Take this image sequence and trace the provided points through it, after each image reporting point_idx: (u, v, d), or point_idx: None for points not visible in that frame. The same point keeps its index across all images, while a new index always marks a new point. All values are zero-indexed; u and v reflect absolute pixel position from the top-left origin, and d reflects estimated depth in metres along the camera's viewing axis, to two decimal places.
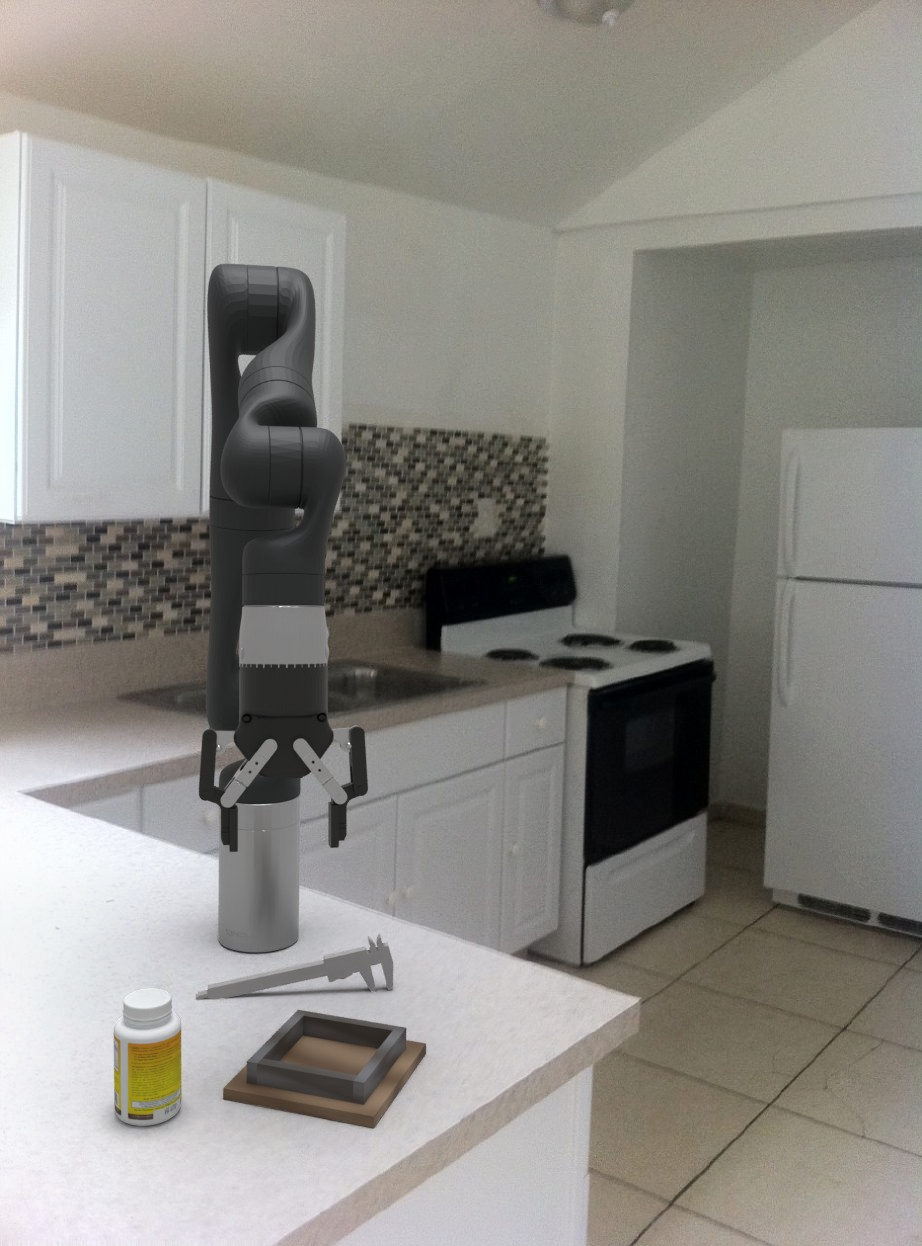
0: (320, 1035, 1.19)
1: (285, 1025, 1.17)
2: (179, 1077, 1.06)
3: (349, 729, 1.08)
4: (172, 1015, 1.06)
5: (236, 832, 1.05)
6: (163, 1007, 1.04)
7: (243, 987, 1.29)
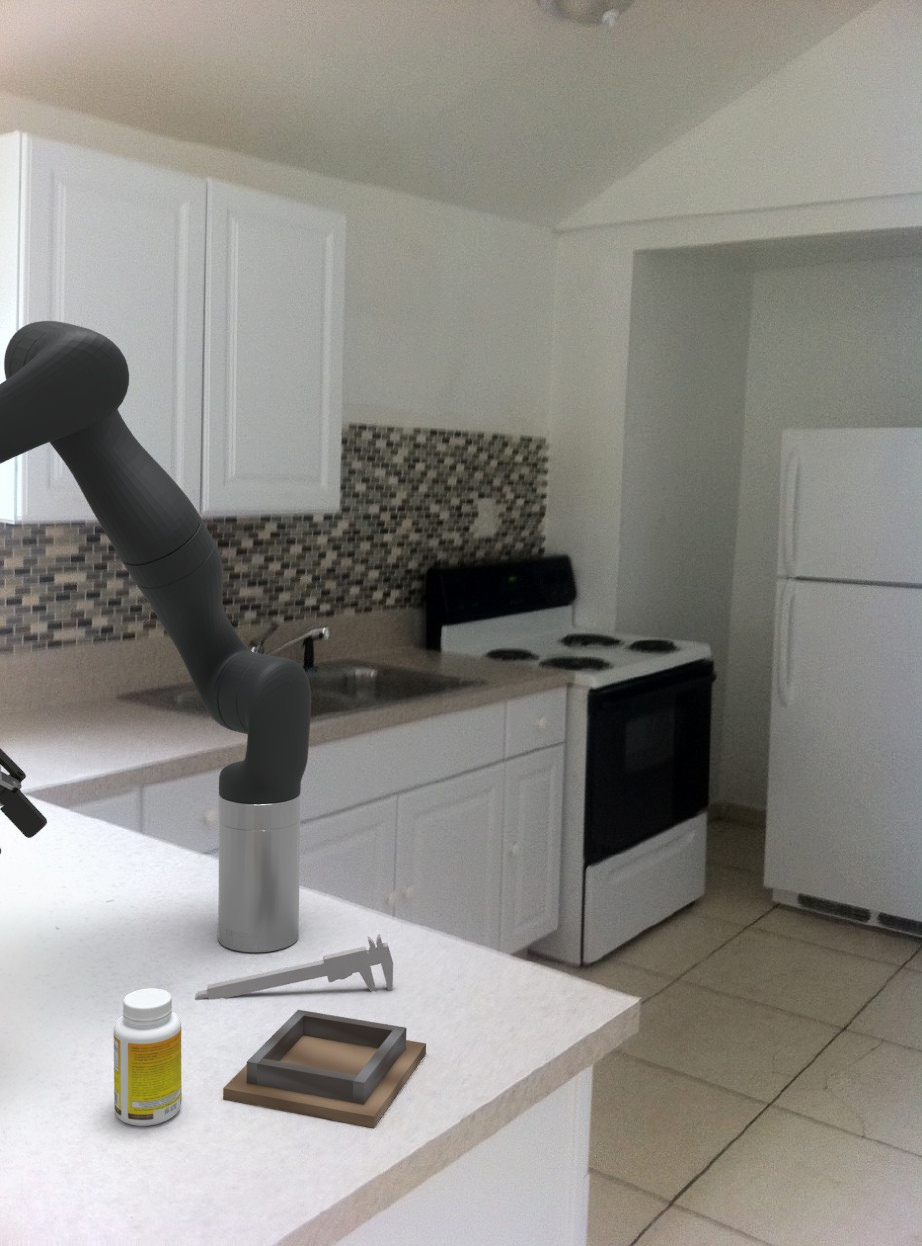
0: (320, 1035, 1.19)
1: (285, 1025, 1.17)
2: (179, 1077, 1.06)
3: None
4: (172, 1015, 1.06)
5: (16, 825, 1.09)
6: (163, 1007, 1.04)
7: (242, 987, 1.29)
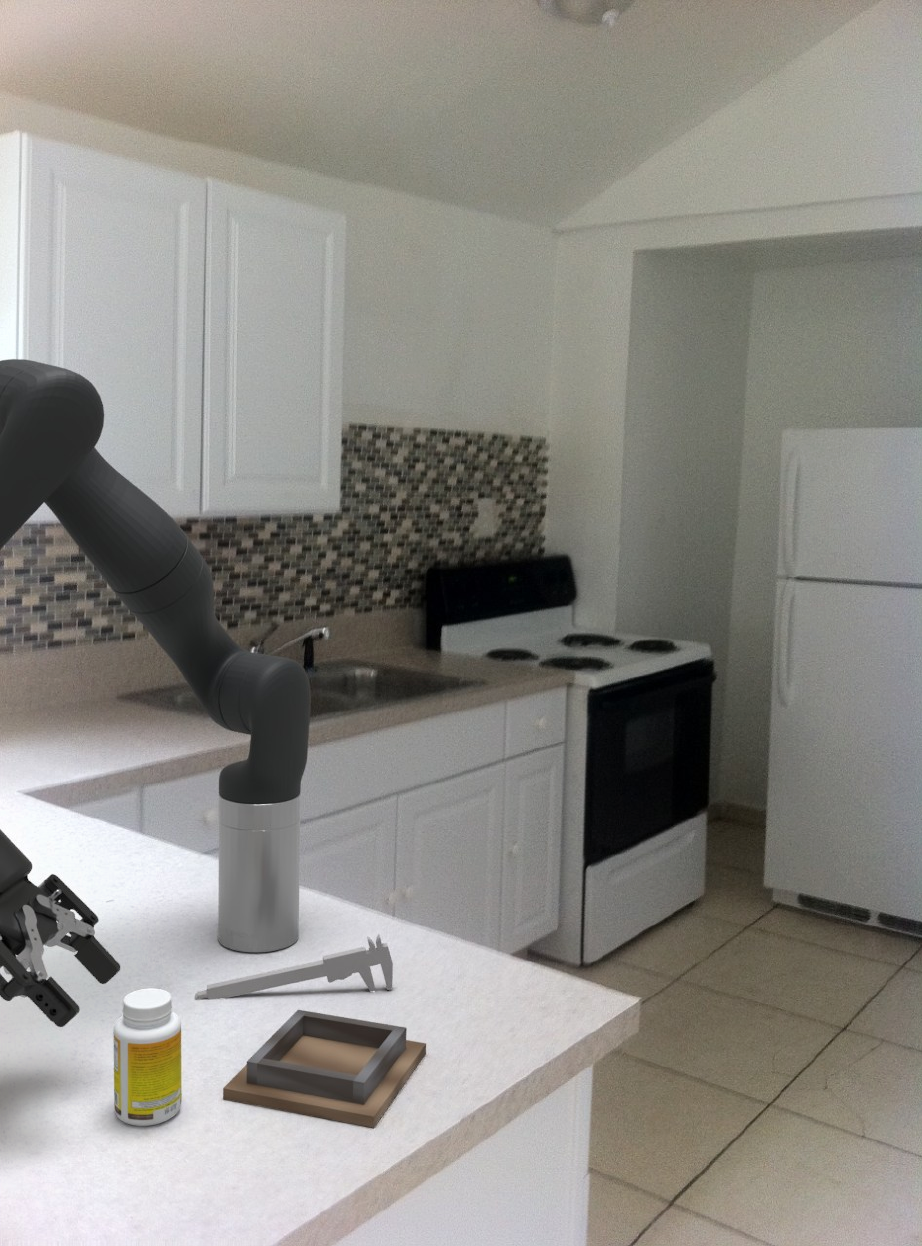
0: (320, 1035, 1.19)
1: (285, 1025, 1.17)
2: (179, 1077, 1.06)
3: None
4: (172, 1015, 1.06)
5: (90, 971, 1.10)
6: (163, 1007, 1.04)
7: (242, 987, 1.29)
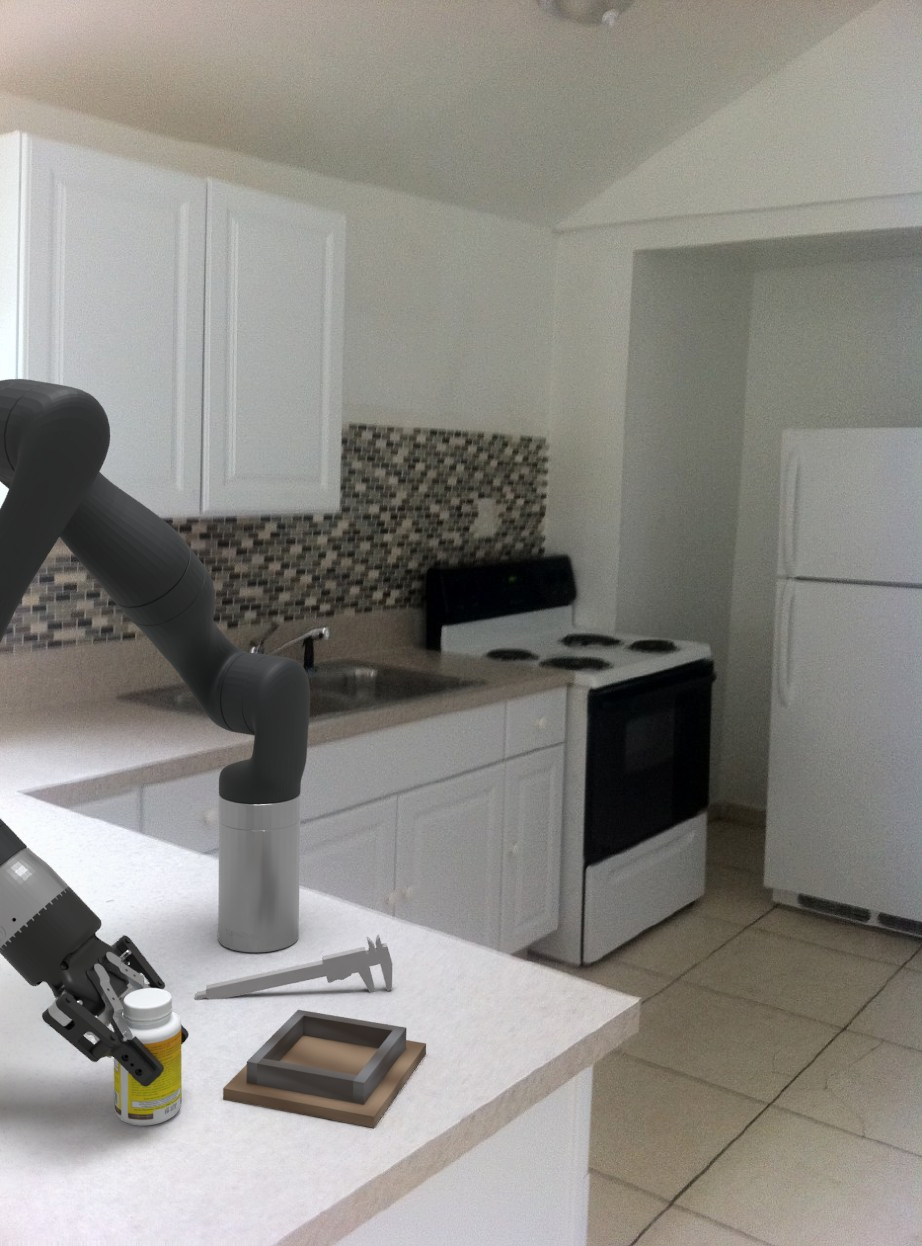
0: (320, 1035, 1.19)
1: (285, 1025, 1.17)
2: (179, 1077, 1.06)
3: None
4: (172, 1015, 1.06)
5: None
6: (164, 1007, 1.04)
7: (241, 987, 1.29)
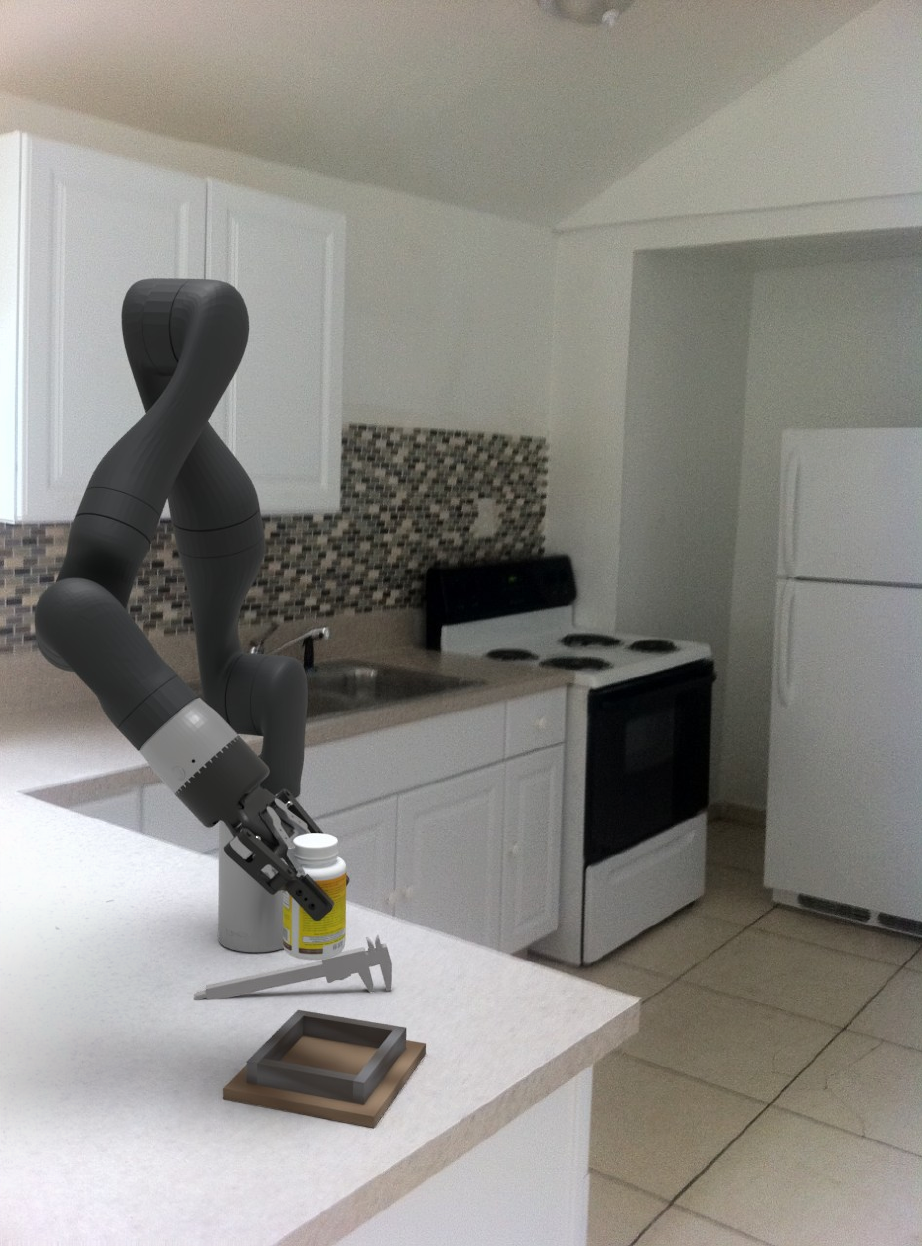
0: (320, 1035, 1.19)
1: (285, 1025, 1.17)
2: (345, 916, 1.11)
3: None
4: (337, 858, 1.11)
5: None
6: (332, 848, 1.09)
7: (241, 987, 1.29)
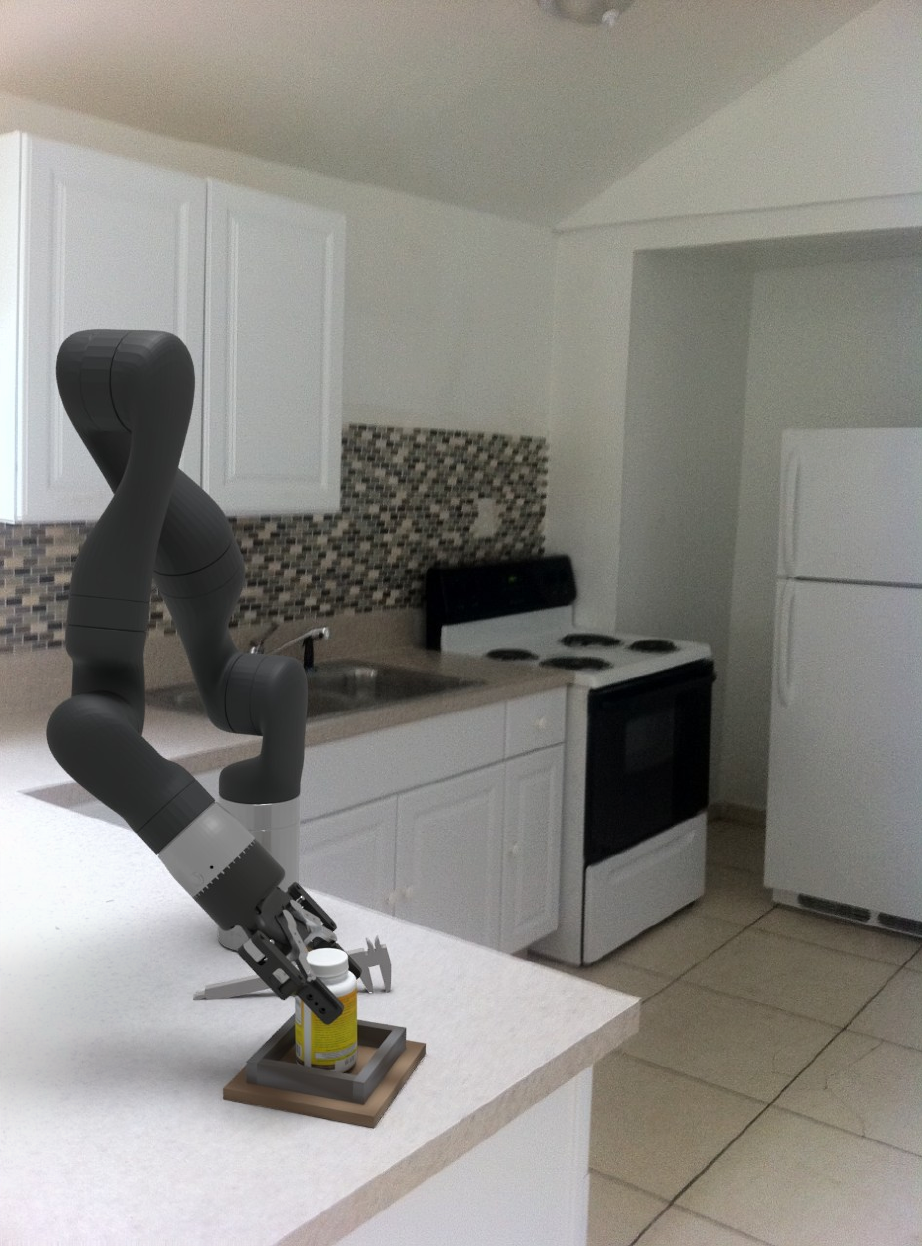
0: None
1: (285, 1025, 1.17)
2: (356, 1031, 1.13)
3: None
4: (348, 973, 1.13)
5: None
6: (342, 965, 1.11)
7: (240, 987, 1.29)
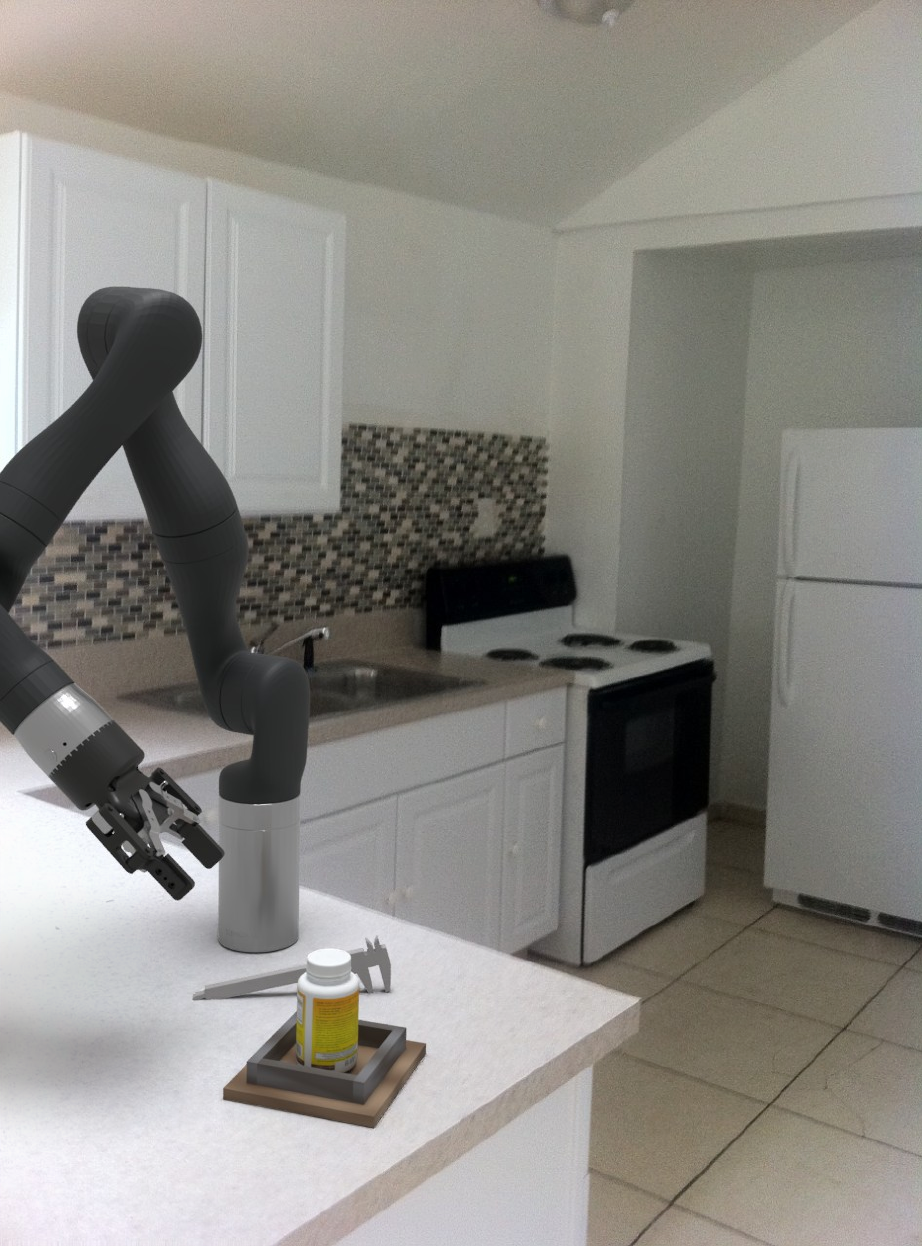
0: None
1: (285, 1025, 1.17)
2: (357, 1032, 1.13)
3: None
4: (350, 974, 1.13)
5: (196, 857, 1.17)
6: (345, 966, 1.11)
7: (240, 987, 1.29)
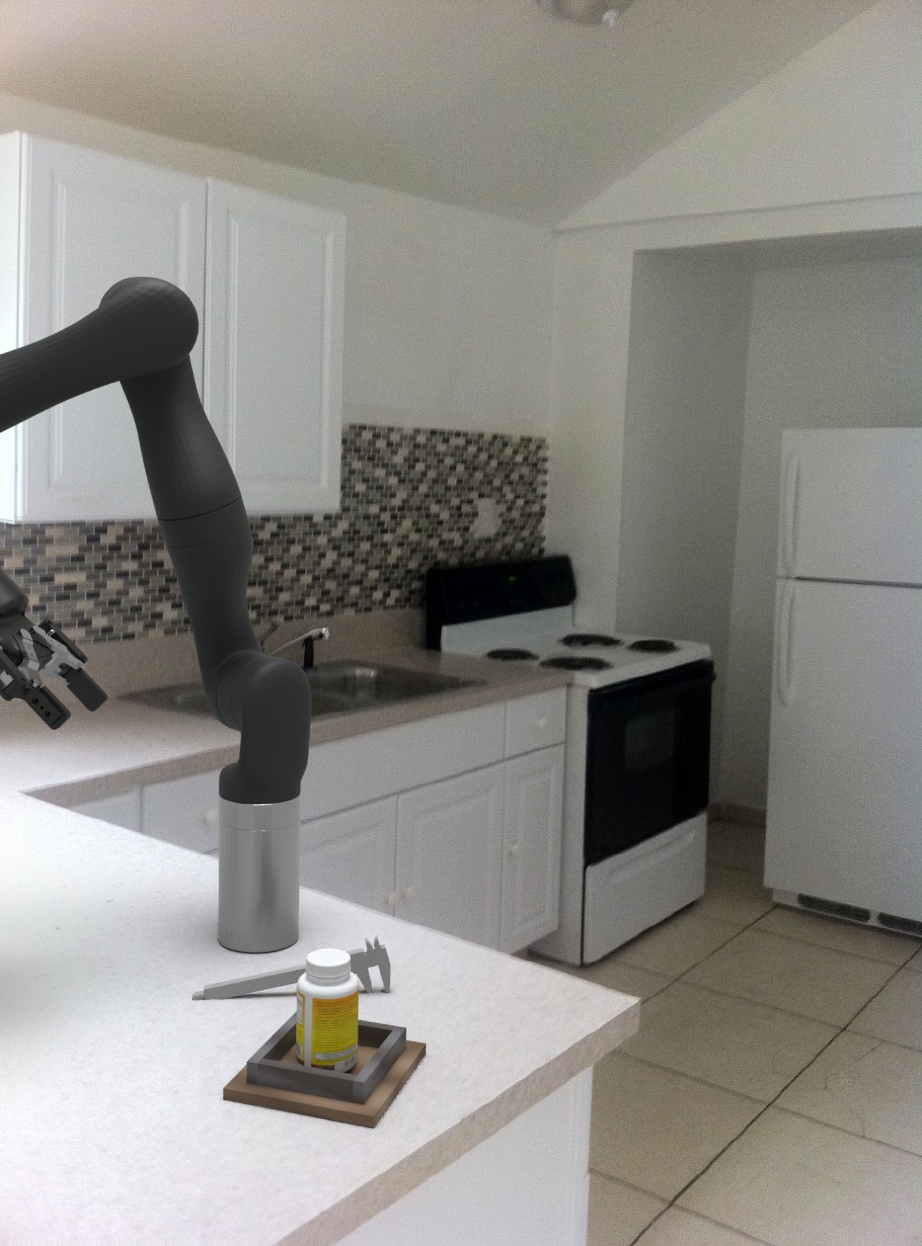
0: None
1: (285, 1025, 1.17)
2: (357, 1032, 1.13)
3: None
4: (350, 974, 1.13)
5: (80, 700, 1.23)
6: (345, 966, 1.11)
7: (239, 988, 1.29)
